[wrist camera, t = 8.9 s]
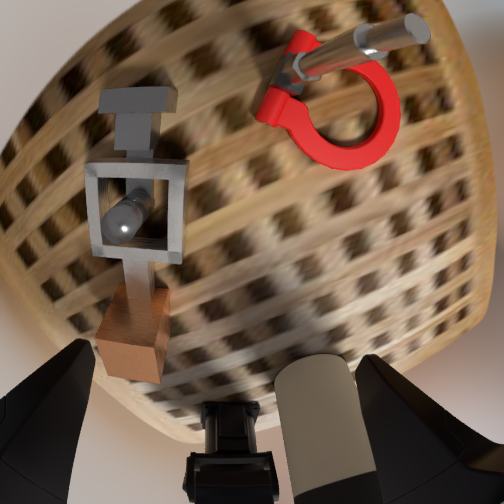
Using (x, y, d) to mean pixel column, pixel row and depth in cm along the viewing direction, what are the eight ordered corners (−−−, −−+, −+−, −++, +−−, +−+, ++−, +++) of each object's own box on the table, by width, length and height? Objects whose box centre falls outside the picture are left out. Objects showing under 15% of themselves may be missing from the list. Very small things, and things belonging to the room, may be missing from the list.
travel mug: (260, 390, 27) (281, 548, 11) (301, 343, 24) (353, 534, 8) (317, 400, 29) (353, 533, 13) (360, 359, 27) (421, 506, 11)
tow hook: (406, 90, 15) (296, 22, 13) (560, 113, 4) (419, -73, 2) (364, 185, 19) (245, 131, 16) (500, 284, 7) (315, 175, 5)
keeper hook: (168, 218, 18) (153, 247, 14) (114, 214, 18) (87, 241, 14) (178, 91, 14) (161, 82, 10) (118, 93, 14) (86, 87, 10)
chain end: (184, 327, 23) (177, 385, 17) (114, 319, 22) (93, 372, 16) (189, 160, 16) (169, 186, 11) (95, 157, 15) (44, 183, 10)
